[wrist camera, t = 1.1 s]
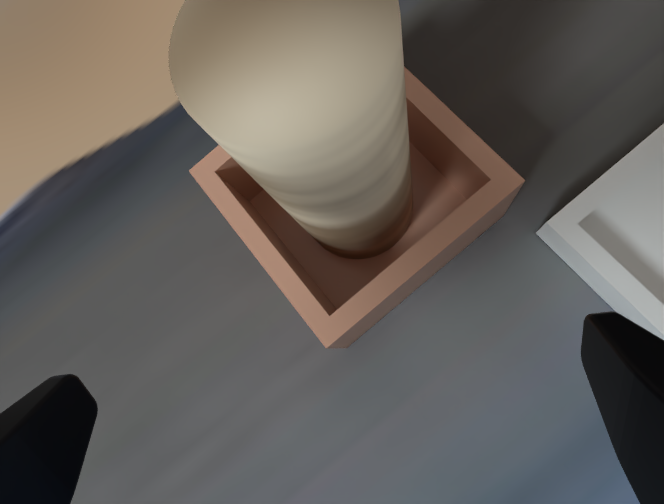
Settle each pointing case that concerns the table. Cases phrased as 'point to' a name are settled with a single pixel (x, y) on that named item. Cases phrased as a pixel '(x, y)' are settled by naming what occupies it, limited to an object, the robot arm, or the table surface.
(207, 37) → the beech cylinder
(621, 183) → the grey tray
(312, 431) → the table surface
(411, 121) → the cup holder
